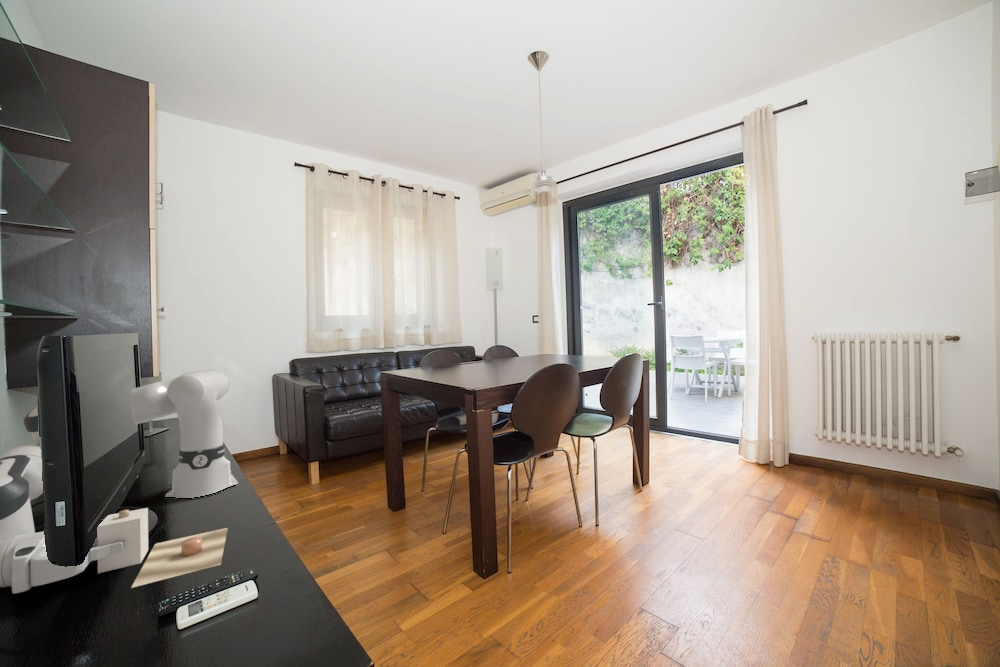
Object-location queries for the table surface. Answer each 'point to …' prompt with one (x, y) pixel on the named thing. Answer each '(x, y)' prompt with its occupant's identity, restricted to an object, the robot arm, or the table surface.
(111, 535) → the tall white canister
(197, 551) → the egg
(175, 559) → the mat
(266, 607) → the table surface
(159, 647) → the table surface
